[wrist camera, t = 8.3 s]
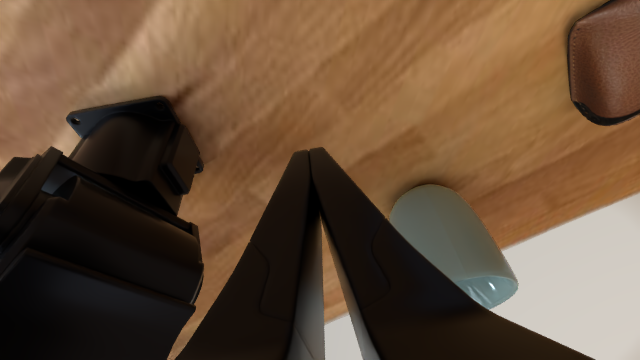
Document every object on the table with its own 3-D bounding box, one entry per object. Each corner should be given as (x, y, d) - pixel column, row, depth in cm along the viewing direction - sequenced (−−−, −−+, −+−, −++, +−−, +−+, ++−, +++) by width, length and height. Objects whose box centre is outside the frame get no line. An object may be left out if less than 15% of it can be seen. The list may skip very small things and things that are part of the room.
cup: (416, 160, 26) (469, 266, 19) (477, 185, 29) (541, 283, 22) (365, 214, 31) (392, 316, 24) (422, 230, 34) (461, 324, 27)
